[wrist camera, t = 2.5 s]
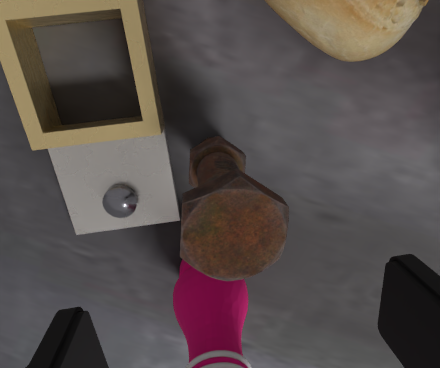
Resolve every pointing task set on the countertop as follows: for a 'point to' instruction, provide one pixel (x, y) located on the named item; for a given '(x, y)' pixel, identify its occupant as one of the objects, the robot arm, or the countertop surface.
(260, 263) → the bolt
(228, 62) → the countertop surface
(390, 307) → the robot arm
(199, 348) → the pepper mill
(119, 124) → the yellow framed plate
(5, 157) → the countertop surface
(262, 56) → the countertop surface
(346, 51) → the bread roll
